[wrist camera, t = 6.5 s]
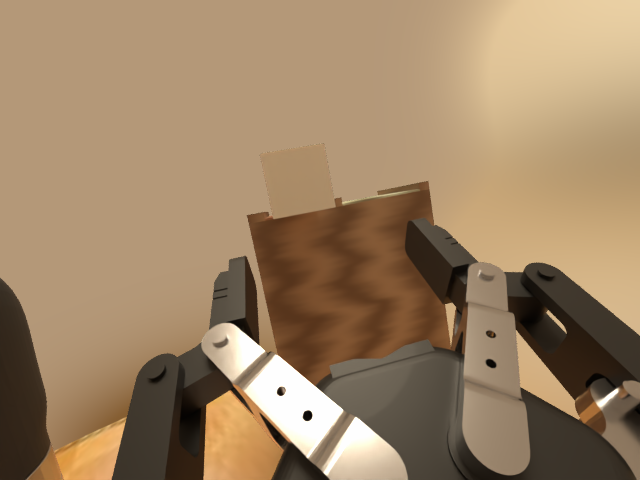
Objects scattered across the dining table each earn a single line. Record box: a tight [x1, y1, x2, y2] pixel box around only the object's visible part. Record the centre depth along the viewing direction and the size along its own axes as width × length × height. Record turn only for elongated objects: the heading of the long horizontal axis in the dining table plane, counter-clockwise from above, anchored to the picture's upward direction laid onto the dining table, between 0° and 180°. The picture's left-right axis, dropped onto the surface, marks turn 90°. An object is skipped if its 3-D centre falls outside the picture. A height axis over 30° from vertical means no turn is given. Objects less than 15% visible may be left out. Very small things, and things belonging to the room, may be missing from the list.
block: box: [260, 143, 336, 219], centre depth 29 cm, size 4×24×4 cm, turn 8°
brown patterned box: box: [247, 181, 451, 386], centre depth 35 cm, size 18×12×33 cm, turn 98°
